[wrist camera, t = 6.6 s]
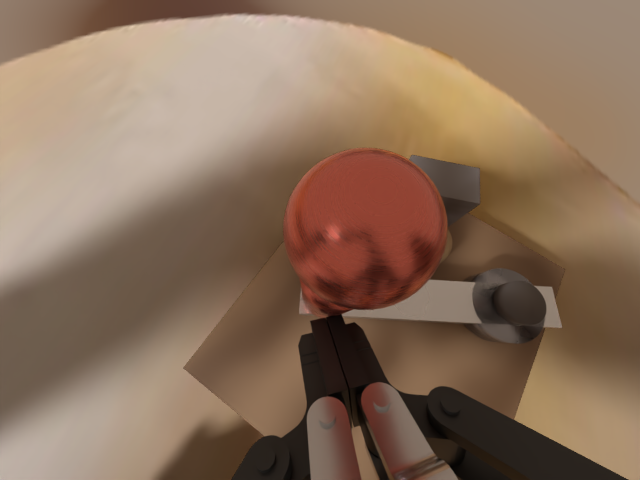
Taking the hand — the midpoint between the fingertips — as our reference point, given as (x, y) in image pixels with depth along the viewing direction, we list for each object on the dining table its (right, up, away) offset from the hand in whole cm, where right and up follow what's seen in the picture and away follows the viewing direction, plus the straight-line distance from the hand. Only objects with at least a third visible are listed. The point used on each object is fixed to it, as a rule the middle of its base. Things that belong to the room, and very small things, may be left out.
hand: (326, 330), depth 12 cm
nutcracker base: (+4, -1, +7) cm, 8 cm away
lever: (+6, 0, +5) cm, 8 cm away
